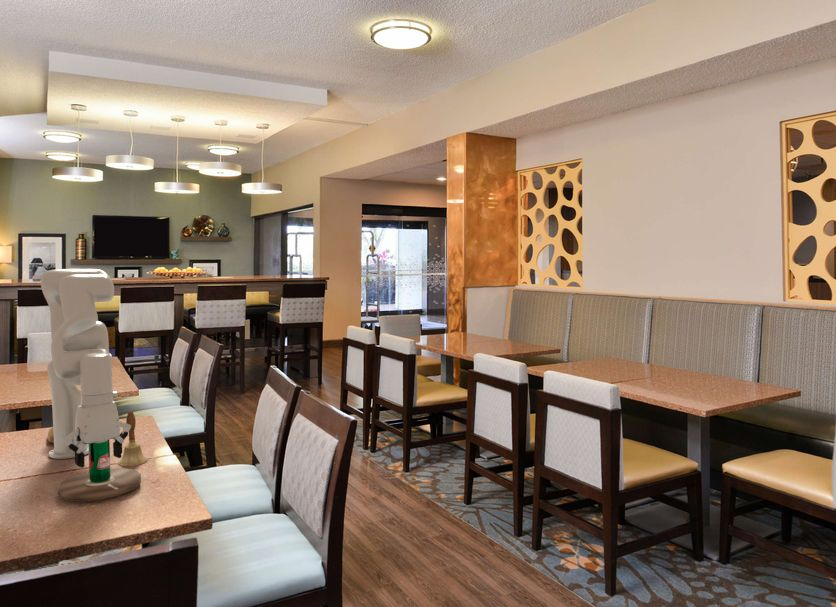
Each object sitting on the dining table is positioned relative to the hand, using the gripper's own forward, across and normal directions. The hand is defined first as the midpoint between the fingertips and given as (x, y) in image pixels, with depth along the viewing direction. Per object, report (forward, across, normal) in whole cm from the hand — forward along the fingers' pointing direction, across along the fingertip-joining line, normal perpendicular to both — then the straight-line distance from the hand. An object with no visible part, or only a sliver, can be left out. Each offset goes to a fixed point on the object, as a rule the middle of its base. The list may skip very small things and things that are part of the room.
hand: (99, 461), depth 163 cm
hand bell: (+8, -17, -16) cm, 25 cm away
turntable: (+7, 0, 0) cm, 7 cm away
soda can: (+5, 0, 0) cm, 5 cm away
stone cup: (+8, -15, -58) cm, 60 cm away
